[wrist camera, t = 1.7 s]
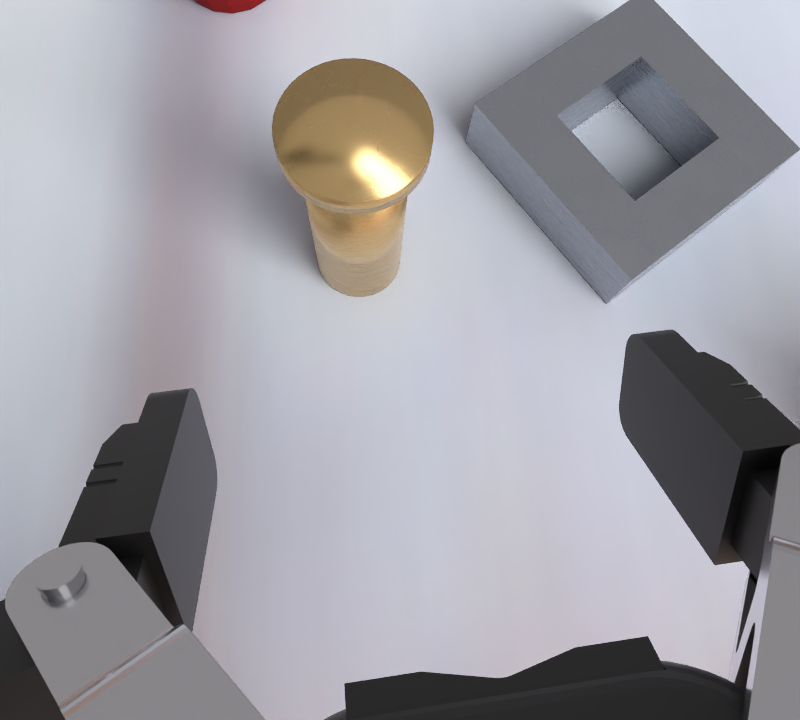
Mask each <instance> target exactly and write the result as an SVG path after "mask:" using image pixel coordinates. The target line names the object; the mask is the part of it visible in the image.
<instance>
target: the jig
mask: <svg viewBox="0 0 800 720" xmlns="http://www.w3.org/2000/svg"><path fill="white" fill-rule="evenodd" d="M616 98H618V99H619V100H620V101H621V102H622V103H623V104H624V105H625V106H626V107H627V108H628V109H629V110H630V112H631V113H632V114H633V115H634V116H635V117H636V118H637V119H638V120H639V121H640V122H641V123H642V124H643V125H644V126H645V128H646V129H647V130H648V131H649V132H650V133H651V134H652V135H653V136H654V137H655V138H656V139H657V140H658V141H659V142H660V143H661V145H662V146H663V147H664V148H665V149H666V150H667V151H668V152H669V153H670V154H671V155H672V156H673V157H674V158H675V159H676V161H677V162H678V163H679V164H680V165H681V167H680V168H678V169H677V170H676V171H674V172H673V173H672V174H670V175H669V176H668V177H666V178H665V179H664V180H662V181H661V182H660V183H658V184H657V185H656V186H654V187H653V188H652V189H650V190H649V191H648V192H646V193H645V194H644V195H642V196H641V197H640V198H638V199H637V200H636V201H634V200H633V198H632V197H631V196H630V195H629V194H628V193H627V192H626V191H625V190H624V189H623V187H622V186H621V185H620V184H619V183H618V182H617V181H616V180H615V179H614V178H613V177H612V175H611V174H610V173H609V172H608V171H607V170H606V169H605V168H604V167H603V166H602V164H601V163H600V162H599V161H598V160H597V159H596V158H595V157H594V156H593V155H592V154H591V152H590V151H589V150H588V149H587V148H586V147H585V146H584V145H583V144H582V143H581V141H580V140H579V139H578V138H577V137H576V136H575V135H574V134H573V133H572V132H571V130H572V129H574V128H575V127H577V126H578V125H579V124H581V123H582V122H584V121H585V120H587V119H588V118H589V117H591V116H592V115H594V114H595V113H596V112H598V111H599V110H601V109H602V108H604V107H605V106H606V105H608V104H609V103H611V102H612V101H613V100H615V99H616ZM466 143H467V144H468V146H469V147H470V148H471V149H472V150H473V151H474V152H475V154H476V155H477V156H478V157H479V158H480V159H481V160H482V162H483V163H484V164H485V165H486V166H487V167H488V169H489V170H490V171H491V172H492V173H493V174H494V175H495V177H496V178H497V179H498V180H499V181H500V182H501V183H502V185H503V186H504V187H505V188H506V189H507V190H508V191H509V193H510V194H511V195H512V196H513V197H514V198H515V199H516V201H517V202H518V203H519V204H520V205H521V206H522V207H523V209H524V210H525V211H526V212H527V213H528V214H529V216H530V217H531V218H532V219H533V220H534V221H535V222H536V224H537V225H538V226H539V227H540V228H541V229H542V230H543V232H544V233H545V234H546V235H547V236H548V237H549V238H550V240H551V241H552V242H553V243H554V244H555V245H556V246H557V248H558V249H559V250H560V251H561V252H562V253H563V254H564V256H565V257H566V258H567V259H568V260H569V261H570V263H571V264H572V265H573V266H574V267H575V268H576V269H577V271H578V272H579V273H580V274H581V275H582V276H583V277H584V279H585V280H586V281H587V282H588V283H589V284H590V285H591V287H592V288H593V289H594V290H595V291H596V292H597V293H598V295H599V296H600V297H601V298H602V299H603V300H604V302H605V303H606V304H607V303H608V302H609V301H611V300H612V299H613V298H614V297H616V296H617V295H618V294H620V293H621V292H622V291H623V290H625V289H626V288H627V287H629V286H630V285H631V284H632V283H634V282H635V281H636V280H638V279H639V278H640V277H641V276H643V275H644V274H645V273H647V272H648V271H649V270H650V269H652V268H653V267H654V266H656V265H657V264H658V263H659V262H661V261H662V260H663V259H665V258H666V257H667V256H668V255H670V254H671V253H672V252H674V251H675V250H676V249H677V248H679V247H680V246H681V245H683V244H684V243H685V242H686V241H688V240H689V239H690V238H692V237H693V236H694V235H695V234H697V233H698V232H699V231H701V230H702V229H703V228H704V227H706V226H707V225H708V224H710V223H711V222H712V221H713V220H715V219H716V218H717V217H719V216H720V215H721V214H723V213H724V212H725V211H726V210H728V209H729V208H730V207H732V206H733V205H734V204H735V203H737V202H738V201H739V200H741V199H742V198H743V197H744V196H746V195H747V194H748V193H750V192H751V191H752V190H753V189H755V188H756V187H757V186H759V185H760V184H761V183H762V182H763V181H765V180H766V179H767V178H768V177H769V176H770V175H771V174H773V173H774V172H775V171H776V170H777V169H778V168H779V167H781V166H782V165H783V164H784V163H785V162H786V161H788V160H789V159H790V158H791V157H792V156H793V155H794V154H796V153H797V152H798V151H799V150H800V148H799V147H798V146H797V145H796V144H795V143H794V142H793V141H792V140H791V139H790V138H789V137H788V136H787V135H786V134H785V133H784V132H783V131H782V130H781V129H780V128H779V127H778V126H777V125H776V124H775V123H774V122H773V121H772V120H771V119H770V118H769V117H768V116H767V114H766V113H765V112H764V111H763V110H762V109H761V108H760V107H759V106H758V105H757V104H756V103H755V102H754V101H753V100H752V99H751V98H750V97H749V96H748V95H747V94H746V93H745V92H744V91H743V90H742V89H741V88H740V87H739V86H738V85H737V84H736V83H735V82H734V81H733V80H732V79H731V78H730V77H729V76H728V75H727V74H726V73H725V72H724V71H723V70H722V69H721V68H720V67H719V66H718V65H717V64H716V63H715V62H714V61H713V60H712V59H711V58H710V57H709V56H708V55H707V54H706V53H705V52H704V51H703V50H702V49H701V48H700V47H699V45H698V44H697V43H696V42H695V41H694V40H693V39H692V38H691V37H690V36H689V35H688V34H687V33H686V32H685V31H684V30H683V29H682V28H681V27H680V26H679V25H678V24H677V23H676V22H675V21H674V20H673V19H672V18H671V17H670V16H669V15H668V14H667V13H666V12H665V11H664V10H663V9H662V8H661V7H660V6H659V5H658V4H657V3H656V2H655V1H654V0H629V1H628V2H626V3H625V4H623V5H622V6H620V7H619V8H617V9H616V10H614V11H613V12H611V13H610V14H608V15H607V16H605V17H604V18H602V19H601V20H599V21H598V22H596V23H595V24H593V25H592V26H590V27H589V28H587V29H586V30H584V31H583V32H581V33H580V34H579V35H577V36H576V37H574V38H573V39H571V40H570V41H568V42H567V43H565V44H564V45H562V46H561V47H559V48H558V49H556V50H555V51H553V52H552V53H550V54H549V55H547V56H546V57H544V58H543V59H541V60H540V61H538V62H537V63H535V64H534V65H532V66H531V67H529V68H528V69H526V70H525V71H523V72H522V73H520V74H519V75H517V76H516V77H514V78H513V79H511V80H510V81H508V82H507V83H505V84H504V85H502V86H501V87H499V88H498V89H497V90H495V91H494V92H492V93H491V94H489V95H488V96H486V97H485V98H483V99H482V100H480V101H479V102H477V103H476V104H475V106H474V110H473V114H472V118H471V122H470V126H469V130H468V134H467V138H466Z"/></svg>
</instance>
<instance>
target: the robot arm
mask: <svg viewBox="0 0 800 720" xmlns="http://www.w3.org/2000/svg"><path fill="white" fill-rule="evenodd" d="M619 413H620V419H621V424H622V427H623V430H624V432H625V434H626V436H627V437H628V439H629V440H630V442H631V443H632V445H633V446H634V448H635V449H636V451H637V452H638V454H639V455H640V457H641V458H642V459H643V461H644V462H645V464H646V465H647V467H648V468H649V470H650V471H651V473H652V474H653V476H654V477H655V478H656V480H657V481H658V483H659V484H660V486H661V487H662V489H663V490H664V492H665V493H666V495H667V496H668V498H669V499H670V500H671V502H672V503H673V505H674V506H675V508H676V509H677V511H678V512H679V514H680V515H681V517H682V518H683V519H684V521H685V522H686V524H687V525H688V527H689V528H690V530H691V531H692V533H693V534H694V536H695V537H696V539H697V540H698V541H699V543H700V544H701V546H702V547H703V549H704V550H705V552H706V553H707V555H708V556H709V558H710V559H711V560H712V562H713V563H714V565H719V564H726V563H732V562H739V561H743V562H744V563H745V564H746V566H747V567H748V568H749V572H748V576H747V579H746V583H745V587H744V593H743V599H742V604H741V610H740V615H739V621H738V627H737V632H736V638H735V643H734V649H733V655H732V660H731V666H730V671H729V676H728V680H727V679H725V678H722V677H720V676H717V675H715V674H713V673H710V672H708V671H704V670H701V669H698V668H695V667H691V666H688V665H683V664H678V663H673V662H668V661H660V659H659V657H658V655H657V653H656V651H655V649H654V647H653V645H652V644H651V642H650V640H649V638H648V636H647V637H640V638H634V639H627V640H621V641H615V642H608V643H602V644H595V645H589V646H583V647H576V648H573V649H571V650H569V651H566V652H564V653H562V654H559V655H557V656H555V657H553V658H550V659H548V660H546V661H544V662H541V663H539V664H537V665H534V666H532V667H530V668H528V669H525V670H523V671H521V672H518V673H516V674H514V675H512V676H509V677H505V678H488V677H476V676H464V675H453V674H441V673H430V672H416V673H409V674H403V675H397V676H390V677H384V678H377V679H371V680H365V681H358V682H352V683H345V702H346V709H345V710H342V711H340V712H338V713H336V714H334V715H332V716H330V717H328V718H326V719H325V720H800V430H799V429H798V428H797V427H796V426H795V425H794V424H793V423H792V422H791V421H790V420H789V419H787V418H786V417H785V416H784V415H783V414H782V413H781V412H780V411H779V410H778V409H777V408H776V407H775V406H774V405H773V404H771V403H770V402H769V401H768V400H767V399H766V398H764V399H763V398H762V394H761V393H760V392H759V391H758V390H757V389H755V388H754V387H753V386H752V385H748V381H747V380H746V379H745V378H744V377H743V376H742V375H741V374H739V373H738V372H737V371H736V370H735V369H734V368H733V367H732V366H731V365H730V364H728V363H726V362H724V361H722V360H720V359H718V358H716V357H714V356H711V355H709V354H707V353H705V352H699V353H698V352H697V351H696V350H695V349H694V348H693V347H692V346H691V345H689V344H688V343H687V342H686V341H685V340H684V339H683V338H682V337H681V336H680V335H679V334H678V333H677V332H676V331H674V330H664V331H656V332H648V333H640V334H633V335H631V336H630V337H629V339H628V341H627V344H626V351H625V359H624V368H623V376H622V384H621V393H620V401H619ZM93 466H94V469H93V470H91V472H90V475H89V477H88V479H87V481H86V487H84V488H83V491H82V493H81V495H80V498H79V500H78V502H77V505H76V507H75V509H74V512H73V514H72V516H71V519H70V521H69V523H68V526H67V528H66V530H65V533H64V535H63V537H62V540H61V542H60V544H59V547H58V548H56V549H54V550H52V551H50V552H48V553H46V554H44V555H42V556H40V557H39V558H37V559H36V560H34V561H33V562H32V563H30V564H29V565H28V566H27V567H25V568H24V569H23V570H22V571H21V572H20V573H19V574H18V576H17V577H16V578H15V579H14V581H13V582H12V584H11V585H10V587H9V589H8V592H7V594H6V599H4V600H2V601H0V720H265V719H264V718H263V716H262V715H261V714H260V713H259V712H258V710H257V709H256V708H255V707H254V706H253V705H252V703H251V702H250V701H249V700H248V699H247V697H246V696H245V695H244V694H243V693H242V691H241V690H240V689H239V688H238V687H237V685H236V684H235V683H234V682H233V681H232V679H231V678H230V677H229V676H228V675H227V673H226V672H225V671H224V670H223V669H222V667H221V666H220V665H219V664H218V663H217V661H216V660H215V659H214V658H213V657H212V656H211V654H210V653H209V652H208V651H207V650H206V648H205V647H204V646H203V645H202V644H201V642H200V641H199V640H198V639H197V638H196V636H195V635H194V634H193V633H192V630H193V624H194V618H195V612H196V606H197V601H198V595H199V589H200V583H201V577H202V572H203V566H204V560H205V554H206V549H207V543H208V537H209V531H210V525H211V520H212V514H213V508H214V502H215V496H216V490H217V469H216V461H215V456H214V453H213V449H212V445H211V442H210V438H209V434H208V431H207V427H206V424H205V420H204V416H203V413H202V409H201V406H200V402H199V399H198V396H197V393H196V391H195V390H194V389H193V388H190V389H182V390H174V391H166V392H158V393H151V394H149V396H148V398H147V400H146V403H145V406H144V408H143V411H142V414H141V416H140V419H139V422H138V423H132V424H124V425H122V426H121V427H119V428H118V429H117V430H116V431H115V432H114V433H113V434H112V435H111V436H110V437H109V438H108V439H107V440H106V441H105V442H104V443H103V444H102V447H101V449H100V451H99V454H98V456H97V458H96V461H95V463H94V465H93Z"/></svg>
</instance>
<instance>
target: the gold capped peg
mask: <svg viewBox="0 0 800 720" xmlns="http://www.w3.org/2000/svg"><path fill="white" fill-rule="evenodd" d="M433 133H434V127H433V119H432V115H431V111H430V108H429V106H428V103H427V101H426V100H425V98H424V96H423V94H422V93H421V92H420V90H419V89H418V88H417V86H416V85H415V84H414V83H413V82H412V81H411V80H410V79H408V78H407V77H406V76H404V75H403V74H402V73H400V72H398V71H397V70H395V69H394V68H391V67H389V66H387V65H385V64H382V63H379V62H375V61H371V60H366V59H355V58H352V59H339V60H333V61H329V62H325V63H322V64H320V65H317V66H315V67H313V68H311V69H309V70H307V71H306V72H304V73H303V74H301V75H300V76H299V77H297V78H296V79H295V80H294V81H293V82H292V83H291V84H290V85H289V86H288V88H287V89H286V90H285V91H284V93H283V94H282V96H281V98H280V99H279V102H278V104H277V106H276V109H275V112H274V116H273V123H272V136H273V142H274V147H275V151H276V155H277V158H278V162H279V165H280V168H281V170H282V172H283V174H284V176H285V178H286V179H287V181H288V182H289V184H290V185H291V186H292V187H293V188H294V189H295V191H296V192H297V193H299V194H300V195H301V196H302V197H303V198H305V201H306V206H307V211H308V216H309V221H310V226H311V231H312V236H313V241H314V246H315V251H316V256H317V261H318V266H319V269H320V272H321V274H322V276H323V278H324V279H325V281H326V282H327V283H328V284H329V285H330V286H331V287H332V288H333V289H335V290H337V291H338V292H340V293H342V294H345V295H349V296H355V297H364V296H369V295H373V294H375V293H378V292H380V291H381V290H383V289H384V288H386V287H387V286H388V285H389V284H390V283H391V282H392V281H393V279H394V278H395V276H396V274H397V272H398V269H399V264H400V257H401V248H402V239H403V230H404V221H405V212H406V203H407V195H409V194H410V193H411V192H412V191H413V190H414V189H415V188H416V186H417V185H418V184H419V182H420V181H421V179H422V178H423V176H424V174H425V172H426V169H427V167H428V164H429V160H430V155H431V149H432V143H433Z"/></svg>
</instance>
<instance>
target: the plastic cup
mask: <svg viewBox="0 0 800 720" xmlns="http://www.w3.org/2000/svg"><path fill="white" fill-rule="evenodd" d="M195 1H196V2H197V3H199V4H201V5H203V6H205V7H207V8H209V9H211V10H213V11H218V12H226V13H236V12H241V11H245V10H250V9H252V8H254V7H255V6H257V5H259V4H260V3H262V2H263V1H265V0H195Z"/></svg>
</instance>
